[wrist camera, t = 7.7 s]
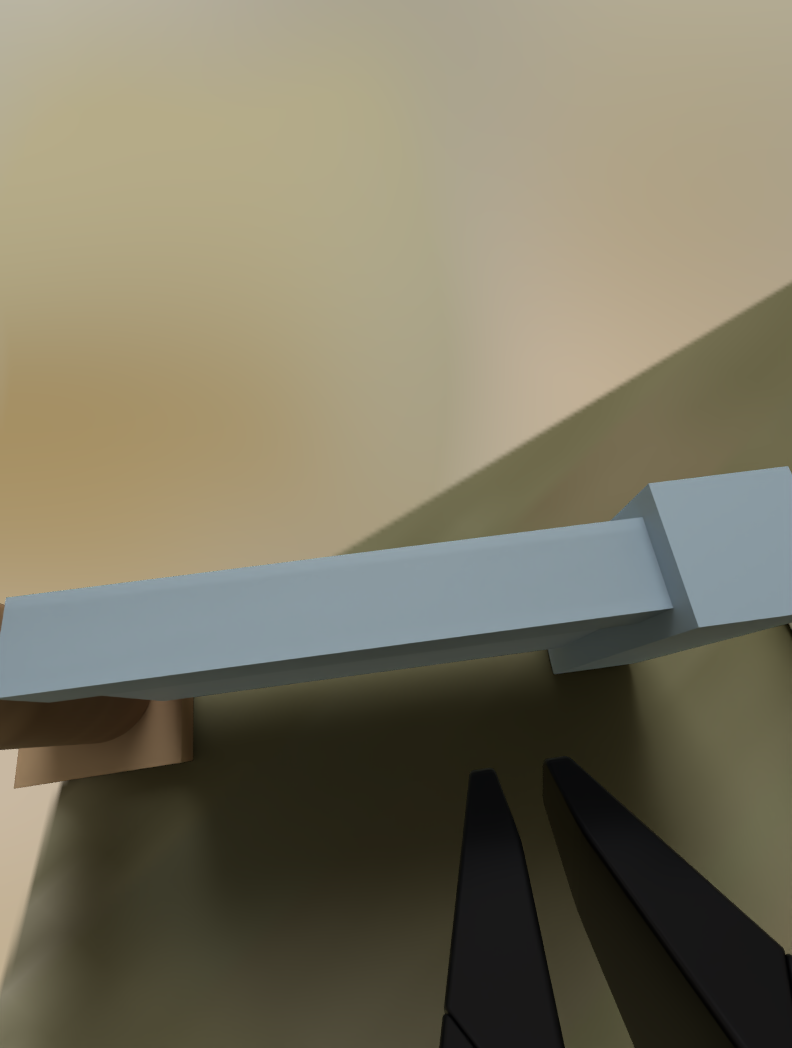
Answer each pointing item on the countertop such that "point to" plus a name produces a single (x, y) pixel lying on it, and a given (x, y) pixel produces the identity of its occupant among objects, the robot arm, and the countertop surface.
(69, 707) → the hinge post
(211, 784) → the countertop surface
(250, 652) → the gate
